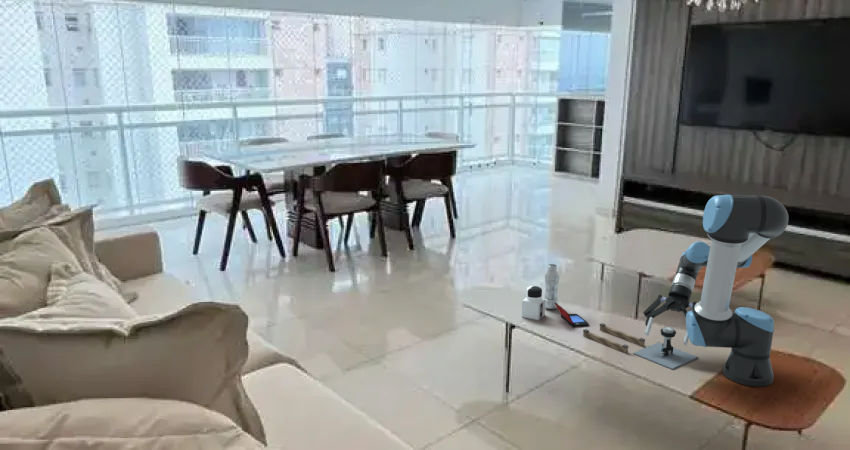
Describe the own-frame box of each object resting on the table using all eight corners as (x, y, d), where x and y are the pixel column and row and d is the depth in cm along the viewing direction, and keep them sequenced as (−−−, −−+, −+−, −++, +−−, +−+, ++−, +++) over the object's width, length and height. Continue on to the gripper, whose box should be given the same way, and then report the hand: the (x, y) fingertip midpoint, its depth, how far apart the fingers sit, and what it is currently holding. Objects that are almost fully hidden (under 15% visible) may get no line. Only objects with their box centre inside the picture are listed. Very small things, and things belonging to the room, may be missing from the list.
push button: (667, 359, 219) (669, 333, 217) (653, 354, 223) (655, 328, 221) (676, 354, 223) (679, 328, 221) (663, 349, 227) (665, 324, 225)
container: (545, 314, 264) (546, 286, 261) (538, 320, 257) (539, 291, 255) (528, 311, 268) (529, 283, 265) (521, 317, 261) (522, 288, 259)
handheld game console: (589, 326, 251) (590, 309, 250) (565, 328, 249) (566, 311, 248) (576, 315, 263) (577, 299, 262) (553, 317, 261) (553, 301, 260)
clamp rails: (644, 345, 232) (645, 339, 232) (625, 353, 226) (625, 346, 225) (602, 329, 248) (602, 323, 247) (582, 336, 241) (583, 329, 241)
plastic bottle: (542, 310, 269) (544, 267, 265) (543, 305, 276) (545, 262, 271) (557, 311, 268) (559, 268, 263) (558, 306, 274) (560, 263, 270)
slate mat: (697, 357, 221) (697, 356, 221) (672, 369, 212) (672, 368, 212) (658, 343, 234) (658, 342, 234) (633, 353, 225) (633, 352, 225)
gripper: (718, 300, 224) (703, 352, 216) (650, 287, 239) (633, 334, 231) (716, 290, 219) (700, 342, 211) (646, 277, 234) (629, 325, 226)
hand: (665, 338), depth 221 cm, fingers open, 13 cm apart
